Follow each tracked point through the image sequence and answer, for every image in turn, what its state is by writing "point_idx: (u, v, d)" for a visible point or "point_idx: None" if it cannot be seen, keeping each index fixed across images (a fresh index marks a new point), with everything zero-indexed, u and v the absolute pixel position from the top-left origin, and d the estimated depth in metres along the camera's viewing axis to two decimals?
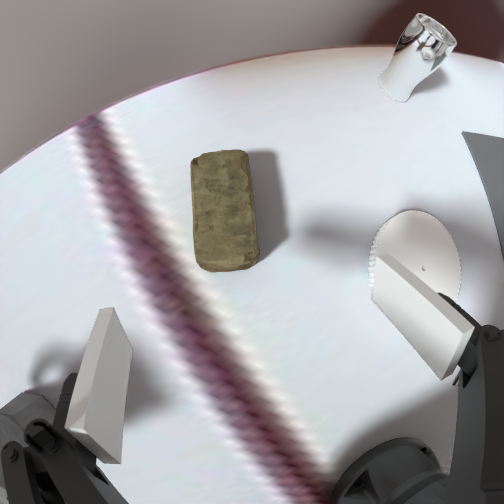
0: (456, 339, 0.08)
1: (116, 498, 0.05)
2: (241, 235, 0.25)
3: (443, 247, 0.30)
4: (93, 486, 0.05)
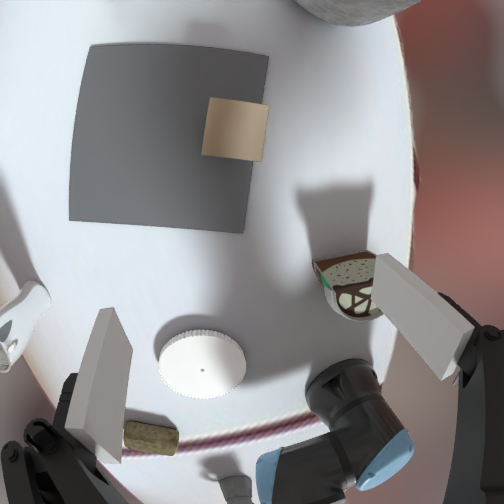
0: (456, 339, 0.08)
1: (116, 498, 0.05)
2: (166, 447, 0.45)
3: (192, 349, 0.41)
4: (93, 486, 0.05)
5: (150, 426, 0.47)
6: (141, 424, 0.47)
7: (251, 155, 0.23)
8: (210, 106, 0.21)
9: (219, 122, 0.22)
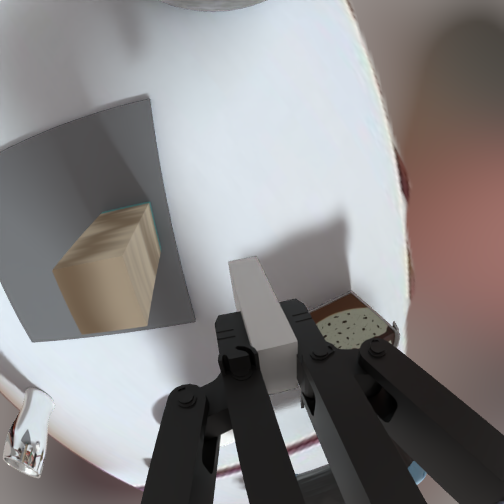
0: None
1: None
2: None
3: None
4: (276, 424, 0.07)
5: None
6: None
7: (132, 322, 0.17)
8: (58, 281, 0.15)
9: (77, 297, 0.15)
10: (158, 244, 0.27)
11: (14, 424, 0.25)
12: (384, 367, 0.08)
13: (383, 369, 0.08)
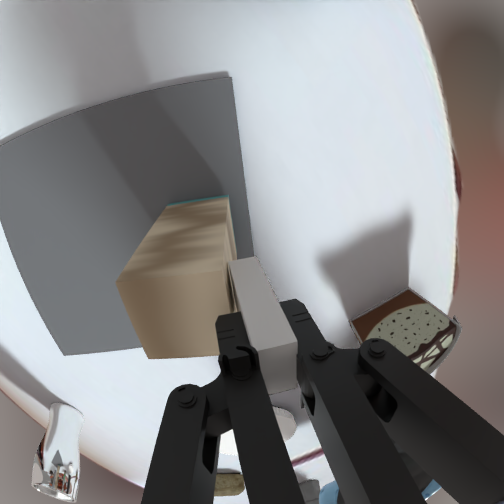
0: None
1: None
2: (235, 492, 0.45)
3: None
4: (276, 424, 0.07)
5: (217, 476, 0.46)
6: None
7: None
8: (123, 296, 0.12)
9: (149, 317, 0.13)
10: (235, 245, 0.24)
11: (42, 446, 0.23)
12: (384, 367, 0.08)
13: (383, 369, 0.08)
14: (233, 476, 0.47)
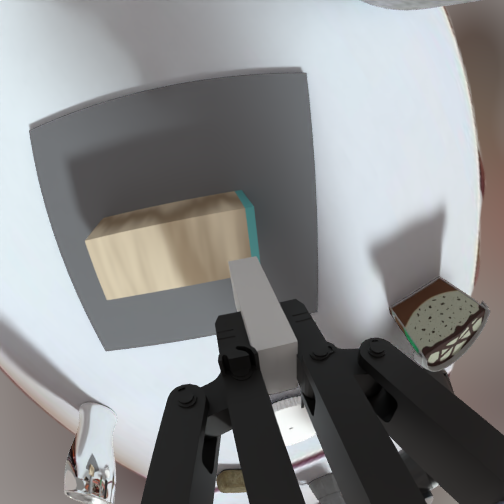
0: None
1: None
2: None
3: (279, 418, 0.36)
4: (276, 424, 0.07)
5: None
6: (237, 471, 0.47)
7: None
8: None
9: None
10: None
11: (75, 450, 0.24)
12: (384, 367, 0.08)
13: (383, 369, 0.08)
14: None
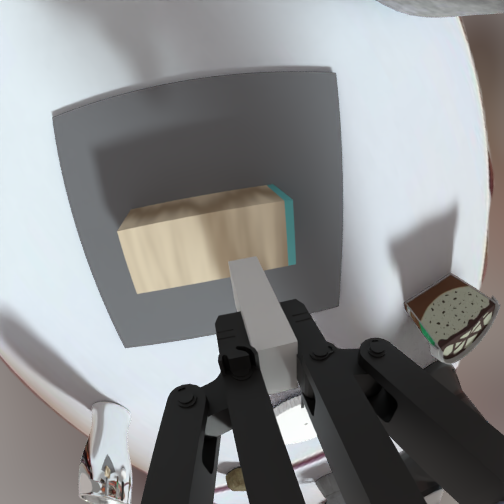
0: None
1: None
2: None
3: (296, 414, 0.37)
4: (276, 424, 0.07)
5: None
6: None
7: None
8: None
9: None
10: (284, 255, 0.21)
11: (90, 451, 0.24)
12: (384, 367, 0.08)
13: (383, 369, 0.08)
14: None
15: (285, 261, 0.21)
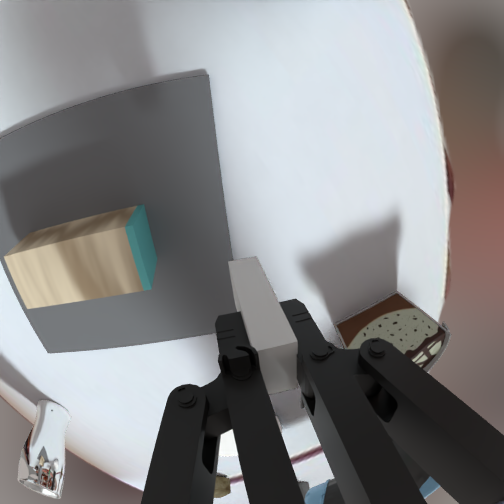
0: None
1: None
2: (220, 494, 0.45)
3: None
4: (276, 424, 0.07)
5: None
6: None
7: None
8: None
9: None
10: (137, 280, 0.19)
11: (28, 442, 0.22)
12: (384, 367, 0.08)
13: (383, 369, 0.08)
14: (221, 479, 0.48)
15: (139, 286, 0.20)
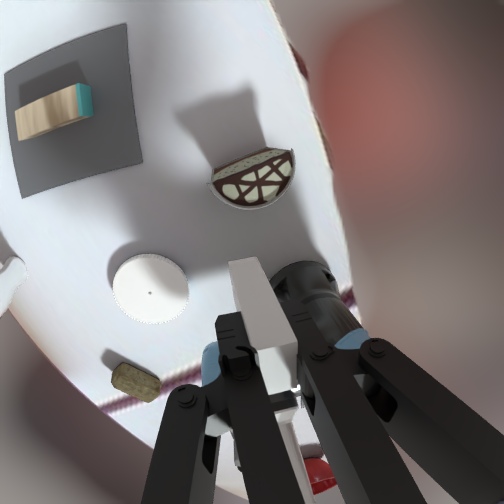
0: None
1: None
2: (150, 394, 0.56)
3: (134, 273, 0.46)
4: (276, 424, 0.07)
5: (141, 372, 0.58)
6: (134, 368, 0.57)
7: None
8: None
9: None
10: (76, 110, 0.31)
11: None
12: (384, 367, 0.08)
13: (383, 369, 0.08)
14: (153, 379, 0.59)
15: (77, 114, 0.31)
